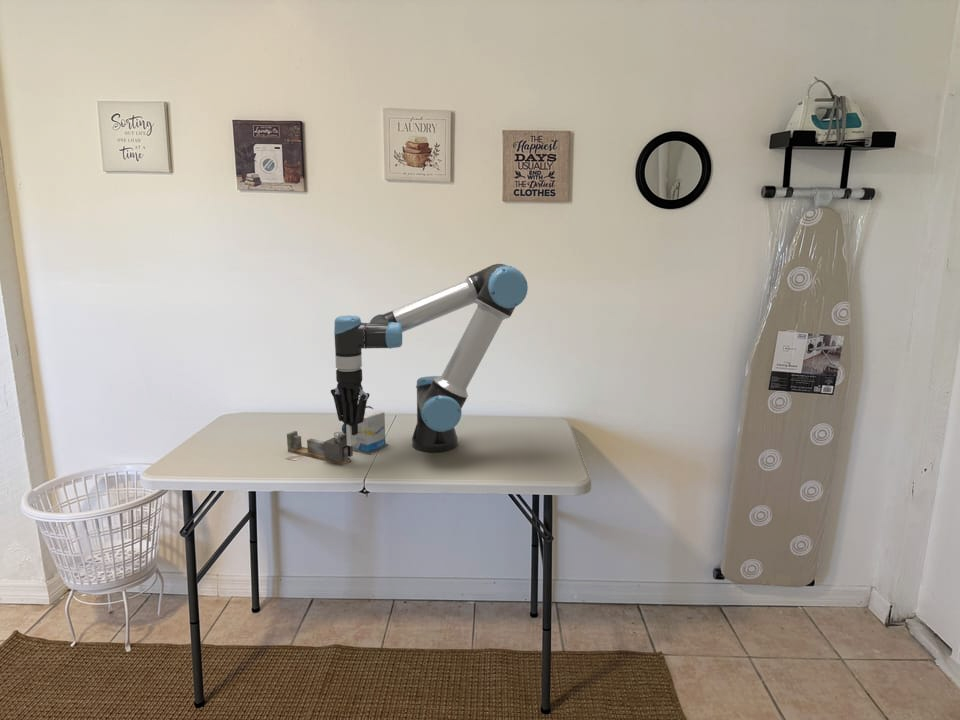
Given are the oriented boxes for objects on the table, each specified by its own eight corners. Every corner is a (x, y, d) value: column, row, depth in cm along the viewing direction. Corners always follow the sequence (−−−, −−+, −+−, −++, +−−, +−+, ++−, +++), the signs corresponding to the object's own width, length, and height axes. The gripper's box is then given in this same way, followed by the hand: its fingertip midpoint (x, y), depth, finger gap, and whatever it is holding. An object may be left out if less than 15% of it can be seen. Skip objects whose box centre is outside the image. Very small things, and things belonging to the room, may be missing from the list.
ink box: (386, 445, 202) (385, 411, 199) (366, 452, 195) (365, 417, 193) (368, 439, 207) (367, 406, 204) (349, 446, 200) (347, 412, 198)
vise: (350, 460, 189) (349, 442, 188) (332, 470, 182) (331, 451, 181) (296, 448, 199) (295, 430, 198) (276, 456, 192) (275, 438, 191)
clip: (352, 455, 190) (351, 431, 188) (340, 462, 185) (338, 437, 183) (337, 452, 193) (336, 428, 191) (324, 458, 188) (323, 434, 186)
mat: (388, 444, 203) (388, 444, 203) (370, 454, 195) (370, 453, 194) (364, 439, 208) (364, 438, 208) (345, 449, 199) (345, 448, 199)
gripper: (374, 368, 180) (376, 444, 185) (340, 363, 186) (342, 437, 191) (358, 373, 174) (361, 452, 179) (323, 368, 180) (326, 444, 185)
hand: (351, 444), depth 185 cm, fingers closed
